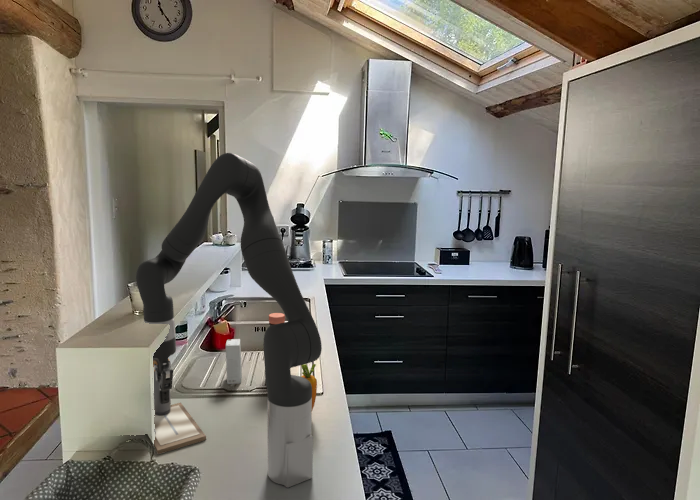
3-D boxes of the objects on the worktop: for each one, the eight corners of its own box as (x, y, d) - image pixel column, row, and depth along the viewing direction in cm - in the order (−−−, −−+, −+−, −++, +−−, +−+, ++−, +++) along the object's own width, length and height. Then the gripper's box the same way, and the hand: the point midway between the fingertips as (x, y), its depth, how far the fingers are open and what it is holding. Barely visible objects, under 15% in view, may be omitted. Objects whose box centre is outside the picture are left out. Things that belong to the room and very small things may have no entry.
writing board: (206, 439, 115) (205, 432, 114) (157, 454, 108) (156, 447, 108) (180, 405, 131) (180, 399, 130) (136, 417, 124) (136, 410, 124)
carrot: (316, 412, 129) (317, 359, 126) (316, 422, 124) (316, 367, 121) (298, 412, 129) (298, 359, 126) (296, 422, 124) (297, 366, 121)
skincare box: (241, 383, 145) (240, 345, 143) (226, 384, 144) (225, 346, 142) (242, 375, 151) (241, 338, 149) (227, 376, 150) (226, 338, 148)
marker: (173, 413, 124) (171, 361, 122) (156, 417, 122) (153, 365, 120) (168, 406, 128) (166, 356, 125) (152, 410, 125) (149, 359, 123)
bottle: (276, 370, 155) (276, 310, 152) (292, 375, 152) (292, 314, 148) (261, 377, 150) (260, 315, 147) (277, 383, 146) (277, 319, 143)
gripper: (183, 341, 118) (185, 406, 121) (167, 325, 129) (169, 385, 132) (151, 347, 114) (154, 414, 116) (137, 330, 125) (140, 392, 128)
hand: (162, 399), depth 124 cm, fingers closed on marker, 4 cm apart
